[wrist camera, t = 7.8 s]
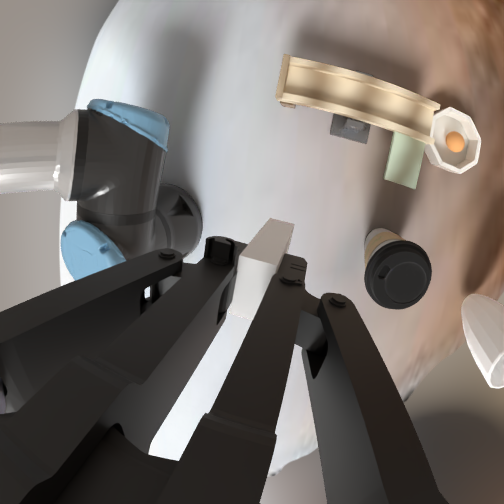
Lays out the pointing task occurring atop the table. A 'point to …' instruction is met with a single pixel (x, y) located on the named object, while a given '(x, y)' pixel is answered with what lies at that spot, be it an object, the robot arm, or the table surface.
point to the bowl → (439, 151)
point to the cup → (485, 335)
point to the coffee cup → (395, 270)
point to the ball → (455, 141)
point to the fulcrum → (346, 125)
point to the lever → (365, 109)
